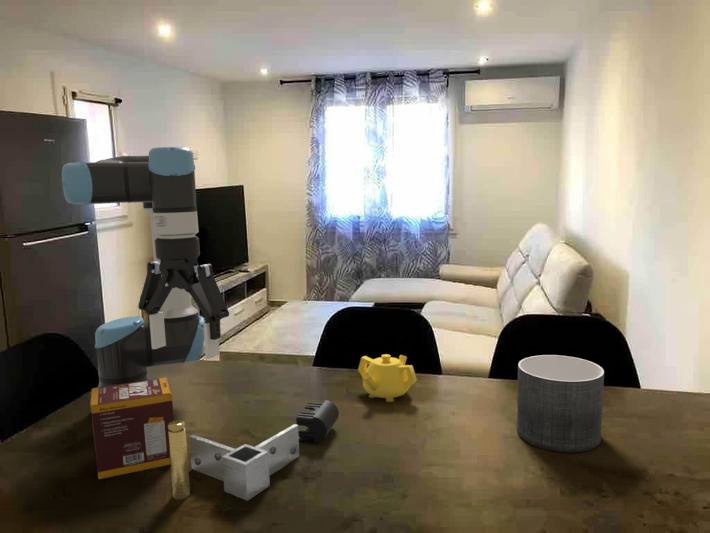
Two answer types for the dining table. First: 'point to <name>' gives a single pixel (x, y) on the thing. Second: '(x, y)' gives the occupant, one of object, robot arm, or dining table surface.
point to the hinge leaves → (245, 461)
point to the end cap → (317, 422)
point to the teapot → (386, 376)
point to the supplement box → (131, 426)
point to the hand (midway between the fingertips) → (185, 351)
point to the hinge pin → (179, 459)
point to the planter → (560, 403)
